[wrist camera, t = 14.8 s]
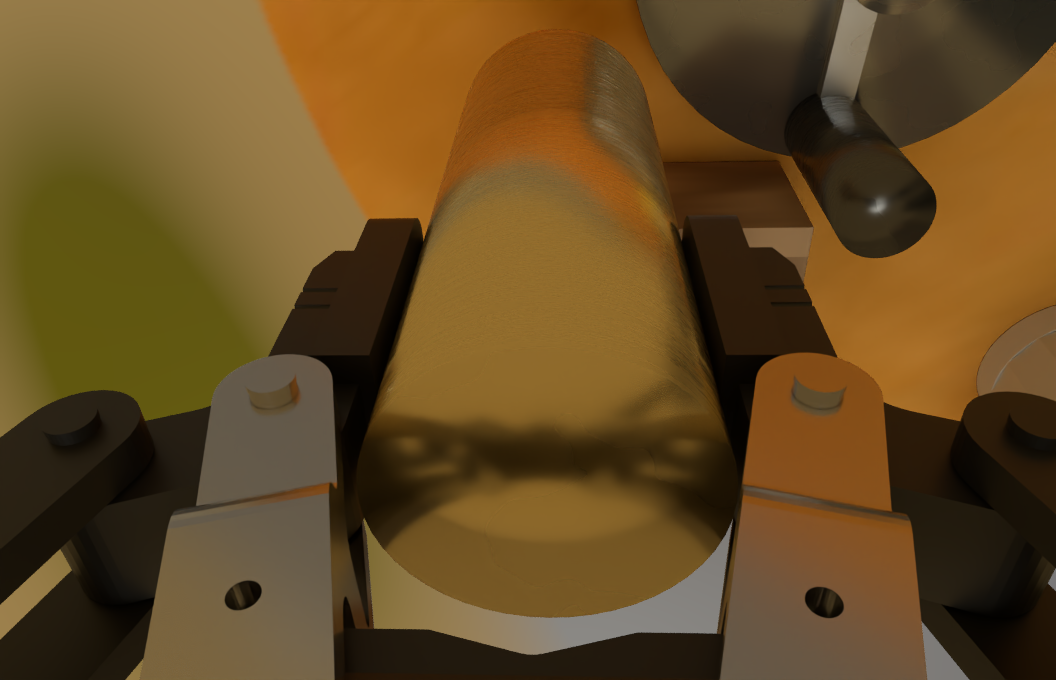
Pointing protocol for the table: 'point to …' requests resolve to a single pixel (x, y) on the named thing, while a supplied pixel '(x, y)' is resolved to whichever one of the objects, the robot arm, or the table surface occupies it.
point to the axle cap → (894, 6)
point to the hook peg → (550, 357)
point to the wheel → (848, 90)
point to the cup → (1023, 358)
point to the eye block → (744, 203)
